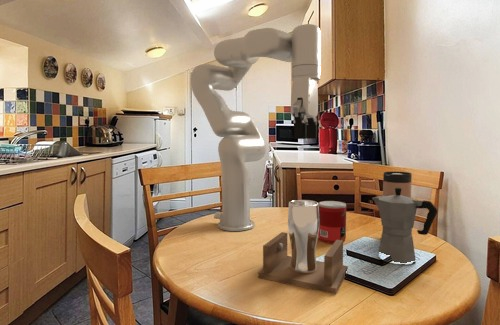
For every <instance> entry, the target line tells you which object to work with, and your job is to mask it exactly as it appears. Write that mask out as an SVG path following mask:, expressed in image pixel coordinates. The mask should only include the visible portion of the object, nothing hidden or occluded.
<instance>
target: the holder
mask: <svg viewBox="0 0 500 325" xmlns="http://www.w3.org/2000/svg"><path fill="white" fill-rule="evenodd" d="M291 257H292V255H288V232H285V231H282V232H280V233H278V234H277V235H275V237H273V238H272V239H270V240H269V241H267V242H266V243H265V244H263V246H262V269H260V270H259V271H258V272H257V278H259V279H263V280H267V281H271V282H277V283H281V284H286V285H291V286H296V287H300V288H303V289H304V288H305V289H309V290H314V291H319V292H323V293H328V294H333V295H337V294H338V291H339V290H340V288H341V285H342V283H343V282H344V280H345V278H346V276H345V273H346V271H347V269H348V270H349V266H347V265H344V242H343V240H336V241H335V242H334V243H332V244H331V246H330V248H329V249H328V250H327V252H326V253H325V254H324V257H323V258H324V260H323V261H319V260H316V263H317V270H316V271H315V272H313V273H309V274H301V273H297V272H294V271H292V270H291V269H290V262H291Z"/></svg>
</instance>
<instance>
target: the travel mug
mask: <svg viewBox="0 0 500 325" xmlns="http://www.w3.org/2000/svg"><path fill="white" fill-rule="evenodd" d="M412 175H413V174H412V173H411V172H409V171H383V175H382V176H383V182H382V183H383V184H382V196H390V195H396V193H395V188H401V189H402V190H401V194H400V195H402V196H406V197H410V198H412Z"/></svg>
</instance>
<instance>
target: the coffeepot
mask: <svg viewBox="0 0 500 325" xmlns="http://www.w3.org/2000/svg"><path fill="white" fill-rule="evenodd" d="M401 190H402V189H401V188H395V193H396V195H390V196H383V195H379V196H375V197H372V198H371V200H373V202H374V203H375V205H376V206H377V208H378V210H379V213H380V221H381V226H382V232H381V235H380V236H381V238H380V243H379V248H378V252H381V253H384V254H386V255H390V256H391V258H392V261H394V262H400V263H407V262H411V261H415V260H417V259H416V252H415V245H414V239H413V238H414V237H413V233H412V232H413V228H414V224H415V220H416V214H417V210H418V209H427V210H428V212H427V214H426V220H425V221H424V223H423V229H422V230H421V229H417V230H416V231H417V234H419V235H424V236H427V235H428V234H429V232H430V230H431V227H432V225H433V223H434V220H435V218H436V216H437V214H438V208H437V207H436V206H435V204H434V203H433V202H432V201H430V200H422V199H421V200H420V199H417V198H412V197H411V198H410V197H406V196H402V195H400V194H401Z"/></svg>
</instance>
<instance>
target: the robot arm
mask: <svg viewBox="0 0 500 325" xmlns="http://www.w3.org/2000/svg"><path fill="white" fill-rule="evenodd" d="M321 34H322V33H321V29H320V27H319V26H318V25H316V24H312V23H307V24H306V23H305V24H300V25H297V26H295V27H294V28H293V29H292V32H291V33H289V32H287V31H283V30H280V29H276V28H273V27H264V28H263V27H262V28H258V29H252V30H249V31H248V32H246V34H245V35H244V36H241V37H235V38H230V39H224V40H222V41H219V42H217V44H216V45H215V47H214V49H213V57H214V58H215V60H216V61H217V63H218V64H221V65H222V66H221V65H215V64H208V63H207V64H198V65H197V66H195V67H194V68H193V69H192V72H191V73H190V74H191V75H190V86H191V90H192V94H193V96H194V97H195V99H196V101H197V103H198V104H199V106H200V107H201V108H202V110H203V112H204V115H205V117H206V119H207V121H208V123H209V126H210V128H211V130H212V132H213V133H214V134H215V135H216V136H217V137H219V138H221V140H220V141H219V143H218V145H217V146H218V147H217V149H218V150H217V152H218V158H219V161H220V167H221V169H220V170H221V194H222V196H221V197H222V200H221V201H222V202H221V203H222V209H221V210H222V212H219V211H216V212H214V215H213V218H214V219H215V220H219V222H218V224H217V227H218V228H219V229H221V230H223V231H228V232H243V231H247V230H251V229H253V228H254V227H255V224H256V223H255V222H254V221H253V220H252V219H251V199H250V198H251V192H250V191H251V189H250V188H251V187H250V186H251V184H250V180H251V179H250V178H251V177H250V173H249V170H248V168H247V166H246V164H245V163H251V162H258V161H261V160H262V159H263V158H264V157H265V155H266V152H267V148H266V143H265V140H264V138H263V136H262V134H261V133H260V131H259V129H258V127H257V124H256V123H255V122H254V120H253V119H254V118H252V116H250V115H249V113H246V112H244V111H237V110H232V109H230V108H229V107H228V104H227V103H226V101H225V99H224V98H223V97H222V96H221V94H219V92H217V90H218V91H227V92H229V91H233V90H234V89H235V88H237V86H238V85H239V83H241V81H242V80H243V79H244V78H245V76H246V75H247V73H248V72H249V71H250V69H252V68H251V67H252V66H253V65H254V64H256V63H257V62H258V61H259V58H267V59H273V60H277V61H281V62H285V63H291V81H292V83H291V84H292V85H291V92H290V93H291V94H290V115H291V116H292V117H293V119H292V120H293V121H292V122H293V139H294V140H305V139H307V140H310V139H313V140H314V139H317V137H318V120H317V119H318V113H319V94H318V93H319V92H318V91H319V90H318V81H321V41H322V40H321V38H322V35H321ZM225 66H226V67H225Z"/></svg>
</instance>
